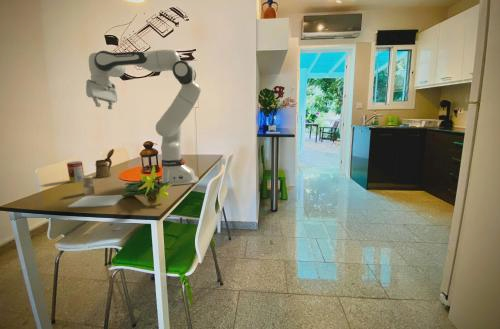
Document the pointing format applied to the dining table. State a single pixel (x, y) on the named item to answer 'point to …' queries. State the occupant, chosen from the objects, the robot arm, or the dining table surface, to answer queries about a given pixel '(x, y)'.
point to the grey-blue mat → (97, 201)
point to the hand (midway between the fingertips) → (104, 108)
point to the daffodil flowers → (147, 186)
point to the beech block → (88, 185)
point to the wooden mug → (104, 166)
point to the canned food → (75, 171)
